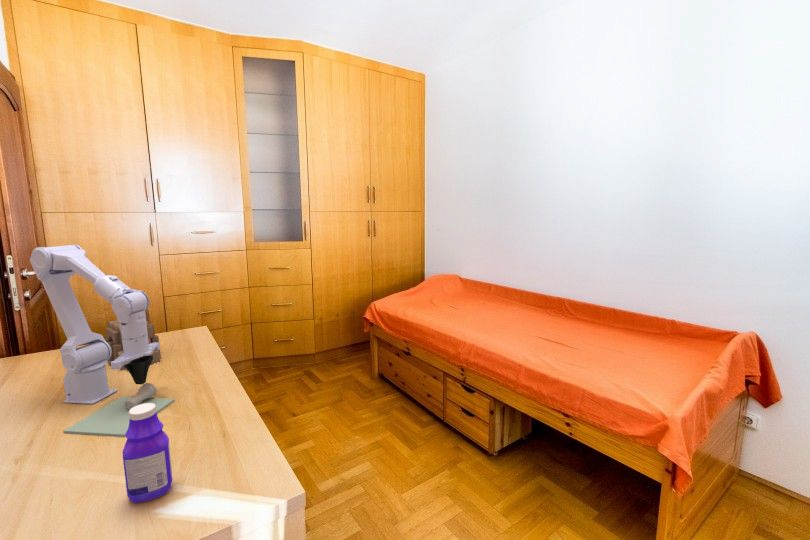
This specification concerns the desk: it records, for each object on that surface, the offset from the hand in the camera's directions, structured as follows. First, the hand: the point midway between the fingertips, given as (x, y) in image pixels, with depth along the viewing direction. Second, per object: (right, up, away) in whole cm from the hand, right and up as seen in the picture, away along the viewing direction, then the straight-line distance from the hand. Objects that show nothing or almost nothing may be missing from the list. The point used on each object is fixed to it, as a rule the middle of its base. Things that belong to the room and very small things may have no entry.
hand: (140, 383), depth 104 cm
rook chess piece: (0, -3, +3) cm, 4 cm away
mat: (-1, -7, -6) cm, 9 cm away
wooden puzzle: (-25, -1, +32) cm, 41 cm away
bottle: (+25, -11, -32) cm, 42 cm away
